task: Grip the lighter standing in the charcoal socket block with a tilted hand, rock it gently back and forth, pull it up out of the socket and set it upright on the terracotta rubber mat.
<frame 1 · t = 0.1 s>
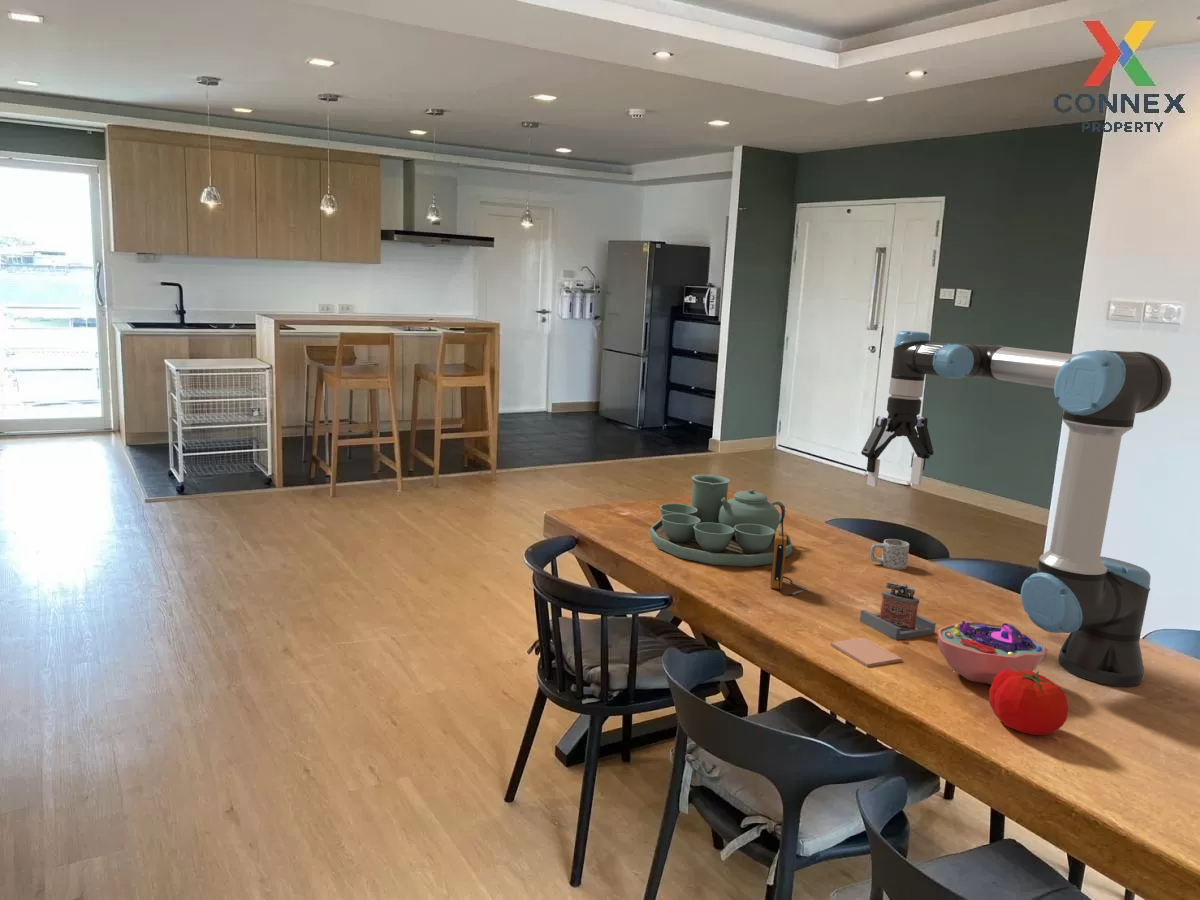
hand: (893, 484, 211), 28 cm above the table, tool pointing down, fingers open, 13 cm apart
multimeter: (790, 587, 219), on the table
cell model: (984, 679, 172), on the table
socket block: (896, 627, 196), on the table
tomato: (1022, 729, 153), on the table
lighter: (896, 628, 196), resting in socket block
mug: (887, 566, 241), on the table
tea set: (720, 546, 250), on the table
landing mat: (865, 653, 181), on the table
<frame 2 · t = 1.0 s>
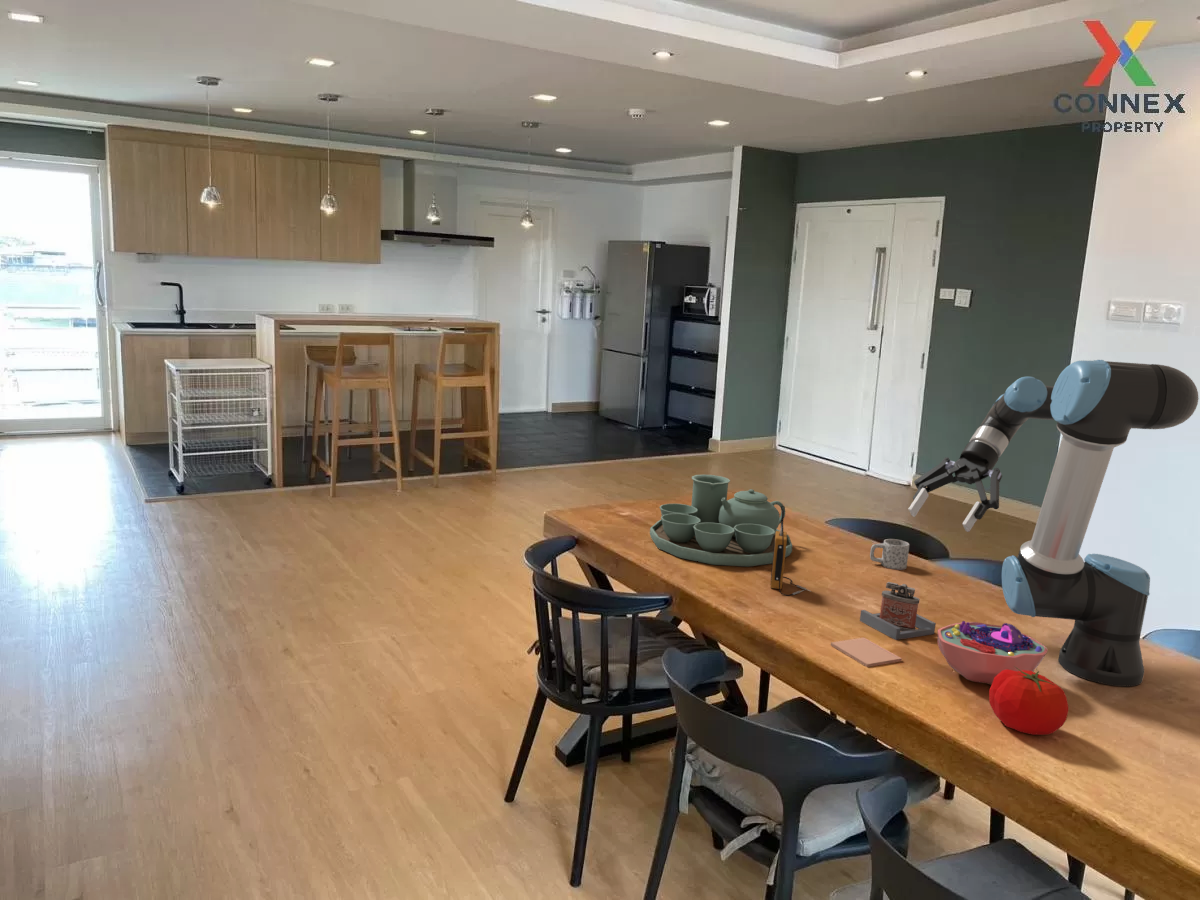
hand: (937, 520, 197), 24 cm above the table, tool tilted 45°, fingers open, 13 cm apart
nothing on the table moved.
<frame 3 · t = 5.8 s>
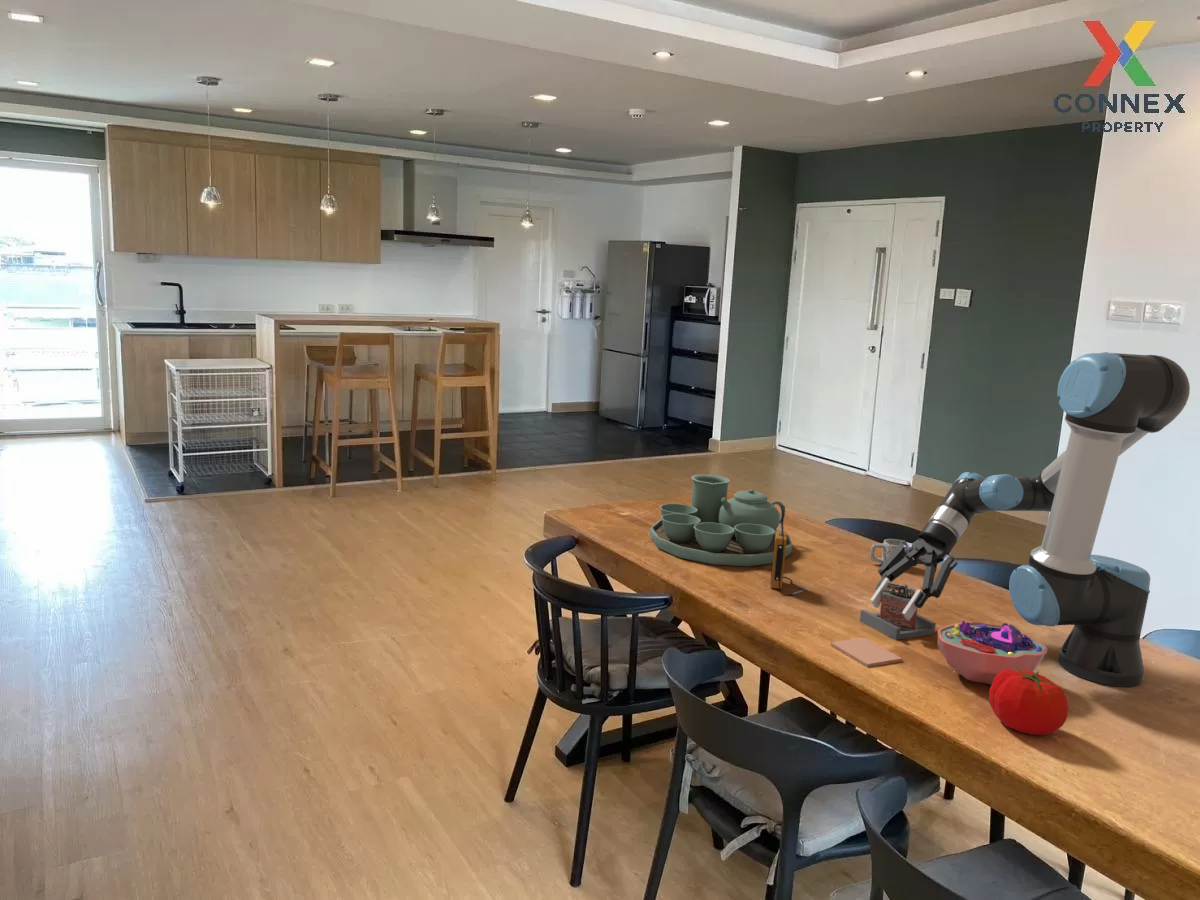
hand: (889, 610, 193), 5 cm above the table, tool tilted 45°, fingers closed on lighter, 8 cm apart
lighter: (896, 628, 196), resting in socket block, touching gripper
everything else where it was.
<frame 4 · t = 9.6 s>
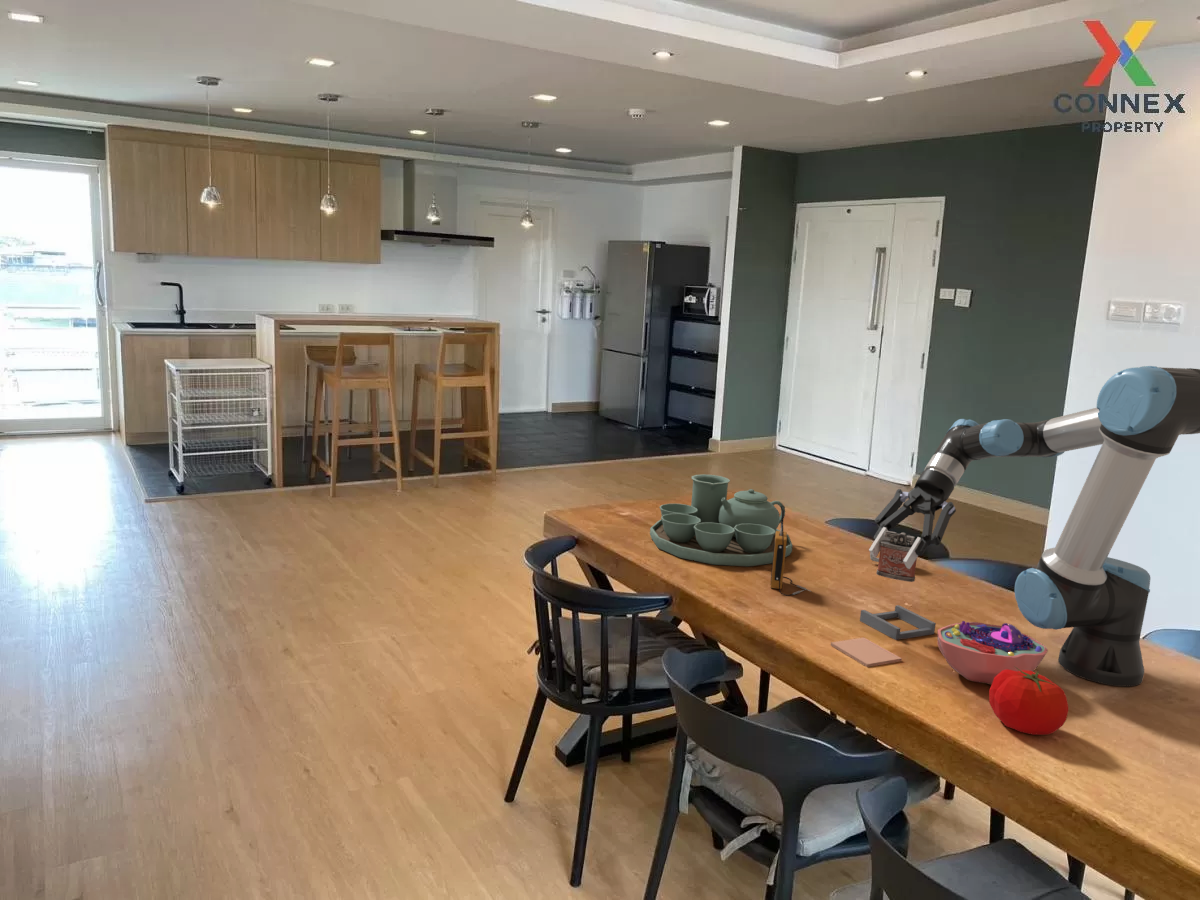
hand: (889, 559, 189), 17 cm above the table, tool tilted 45°, fingers closed on lighter, 8 cm apart
lighter: (895, 577, 192), point 12 cm above the table, touching gripper
everything else where it was.
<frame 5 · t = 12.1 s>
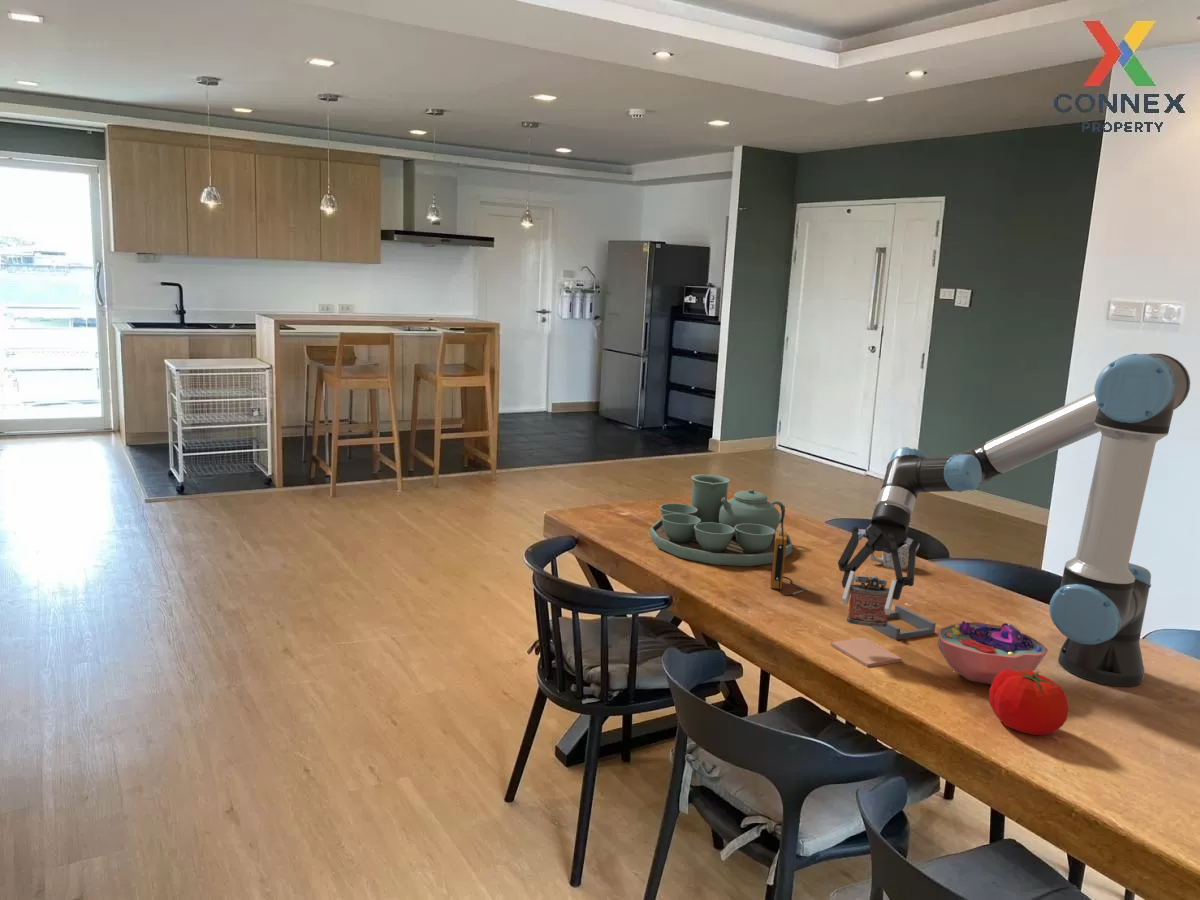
hand: (865, 606, 176), 11 cm above the table, tool tilted 45°, fingers closed on lighter, 8 cm apart
lighter: (866, 623, 180), point 6 cm above the table, touching gripper
everything else where it was.
when the fingers open (6 cm above the table, at t = 13.6 s): lighter drops 1 cm, resting on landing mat.
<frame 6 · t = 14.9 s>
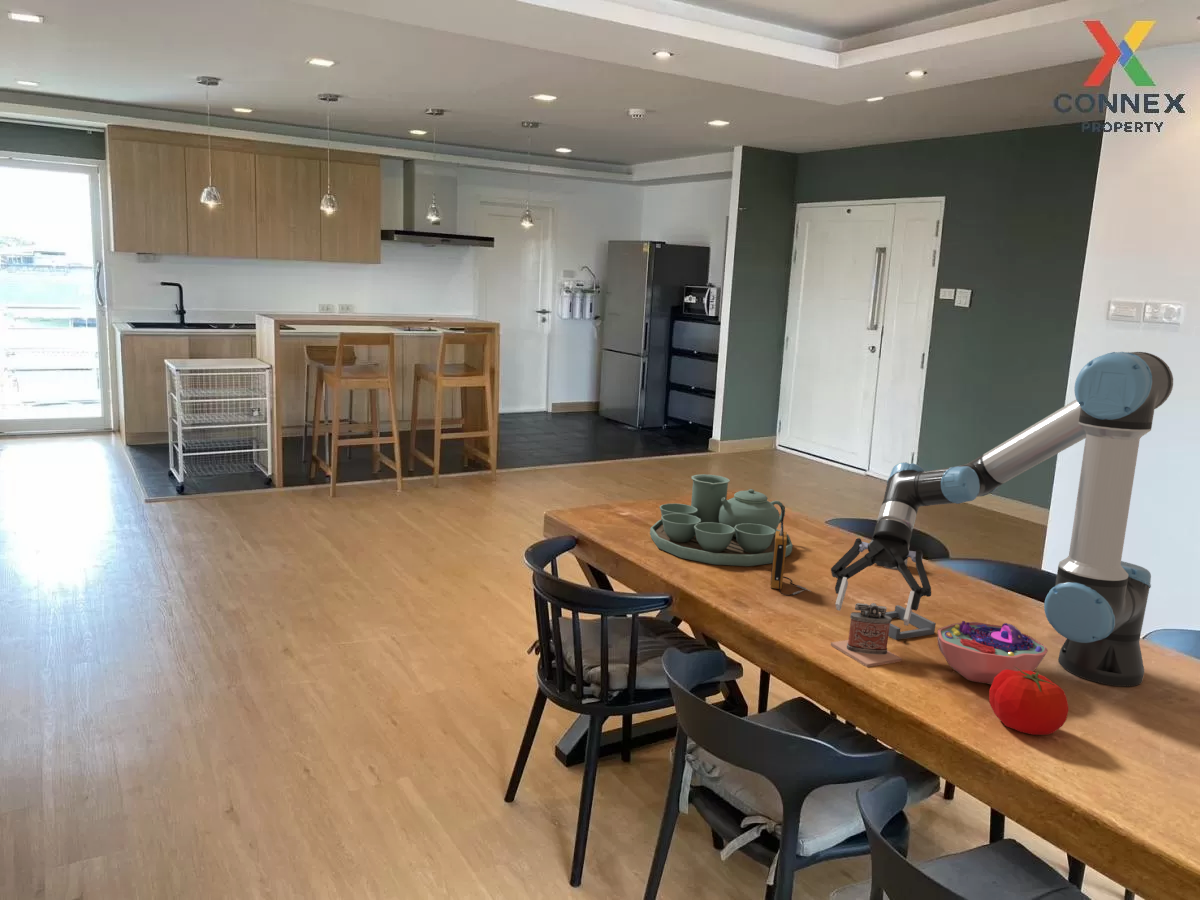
hand: (871, 614, 179), 8 cm above the table, tool tilted 45°, fingers open, 13 cm apart
lighter: (866, 651, 181), resting on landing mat
everything else where it was.
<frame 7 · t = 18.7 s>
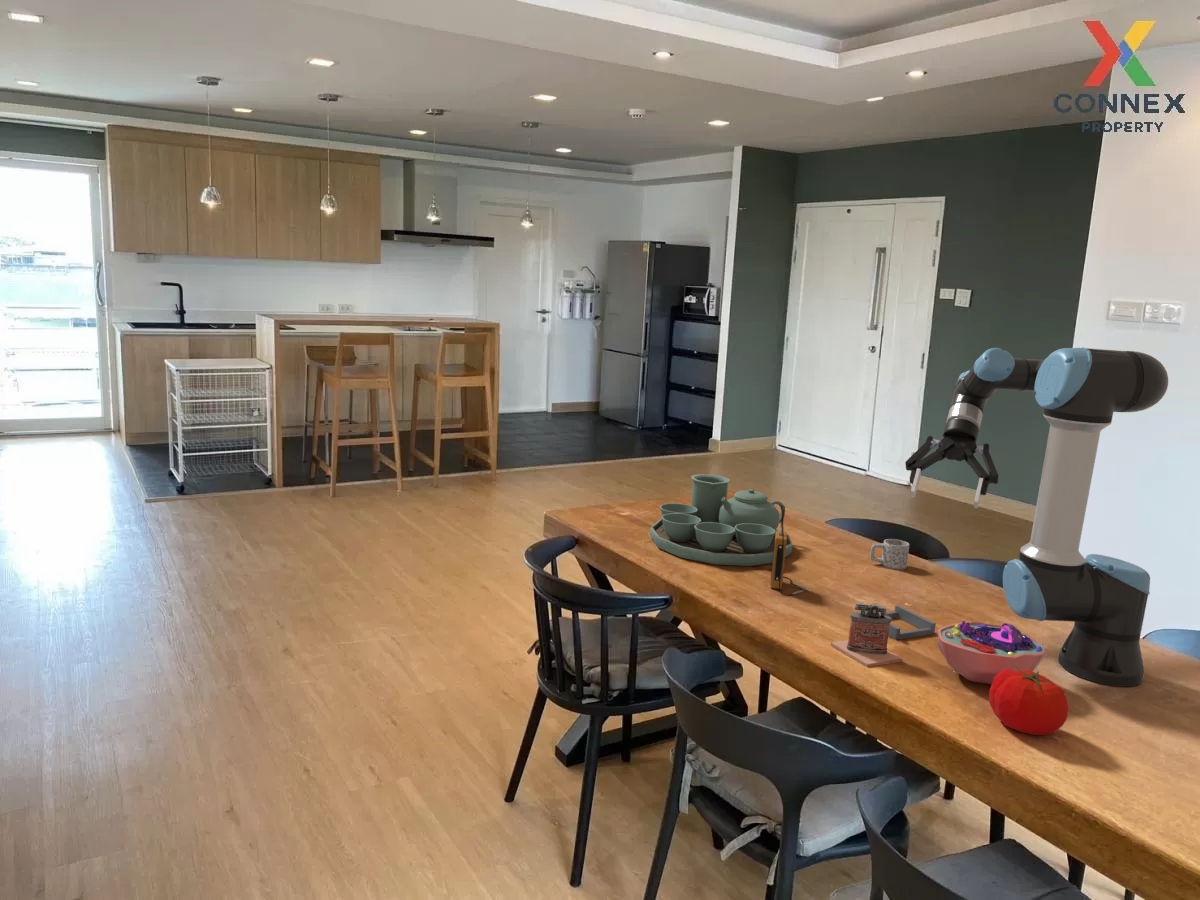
hand: (943, 499, 200), 28 cm above the table, tool tilted 45°, fingers open, 13 cm apart
nothing on the table moved.
at the end: lighter inside the target area on the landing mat (0.2 cm from its centre), point 0.4 cm above the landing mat's base; lighter tilted 0°; lighter touching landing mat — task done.
